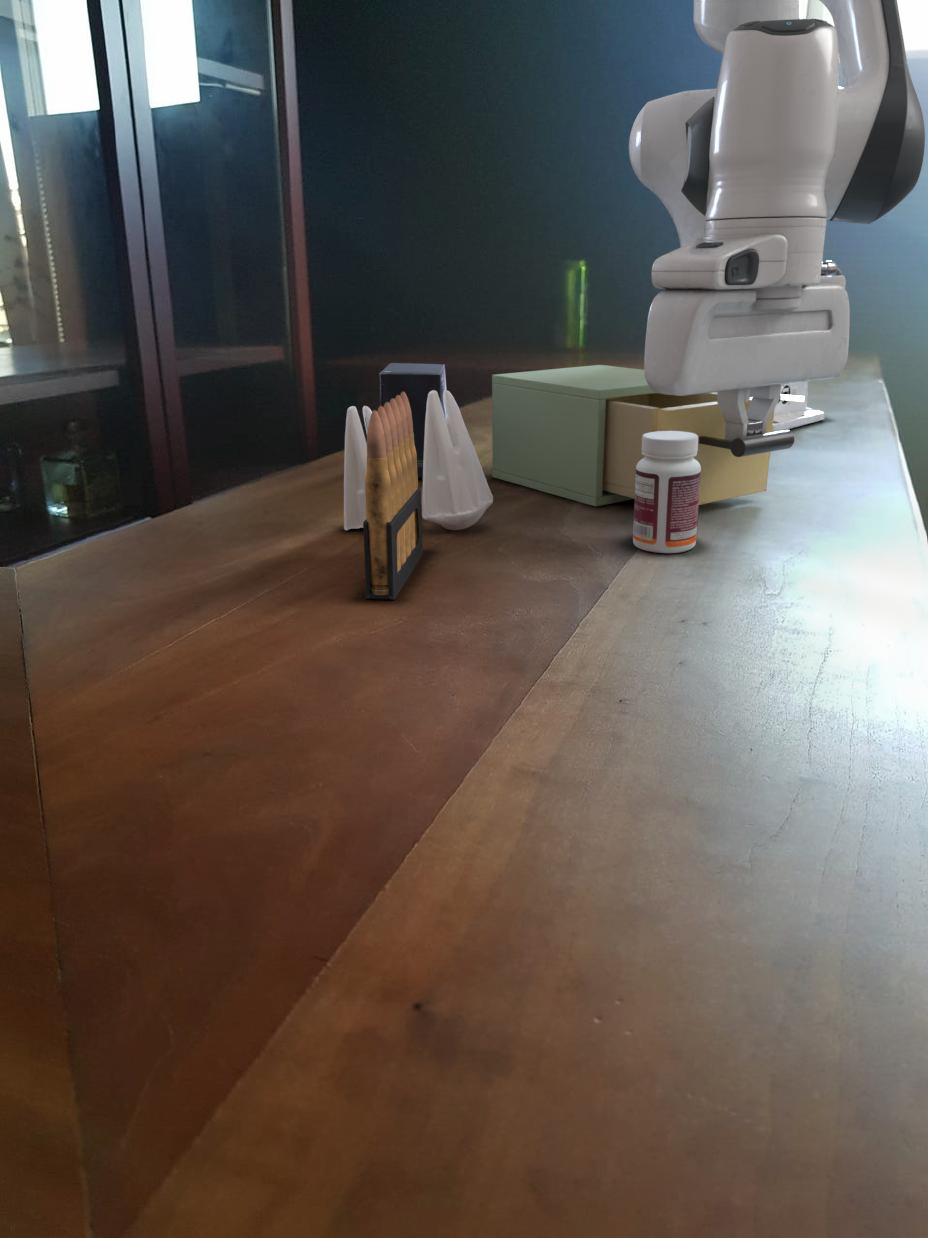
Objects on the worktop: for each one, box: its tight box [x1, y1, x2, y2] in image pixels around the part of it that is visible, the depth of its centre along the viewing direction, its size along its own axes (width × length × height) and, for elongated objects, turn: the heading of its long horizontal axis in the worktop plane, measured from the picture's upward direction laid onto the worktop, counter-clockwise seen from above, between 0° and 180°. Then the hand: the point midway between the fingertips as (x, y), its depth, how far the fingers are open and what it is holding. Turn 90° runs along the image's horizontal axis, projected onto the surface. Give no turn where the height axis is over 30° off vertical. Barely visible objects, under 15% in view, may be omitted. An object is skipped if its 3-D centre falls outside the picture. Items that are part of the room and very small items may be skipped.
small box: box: [378, 362, 447, 479], centre depth 98 cm, size 11×6×10 cm, turn 179°
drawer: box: [602, 392, 795, 506], centre depth 83 cm, size 20×13×8 cm, turn 34°
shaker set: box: [343, 389, 494, 531], centre depth 76 cm, size 12×4×11 cm, turn 81°
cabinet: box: [491, 364, 655, 507], centre depth 91 cm, size 16×14×10 cm
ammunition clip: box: [362, 392, 424, 601], centre depth 64 cm, size 11×2×12 cm, turn 172°
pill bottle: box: [632, 431, 701, 554], centre depth 71 cm, size 5×5×8 cm
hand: (744, 443), depth 77 cm, fingers closed
